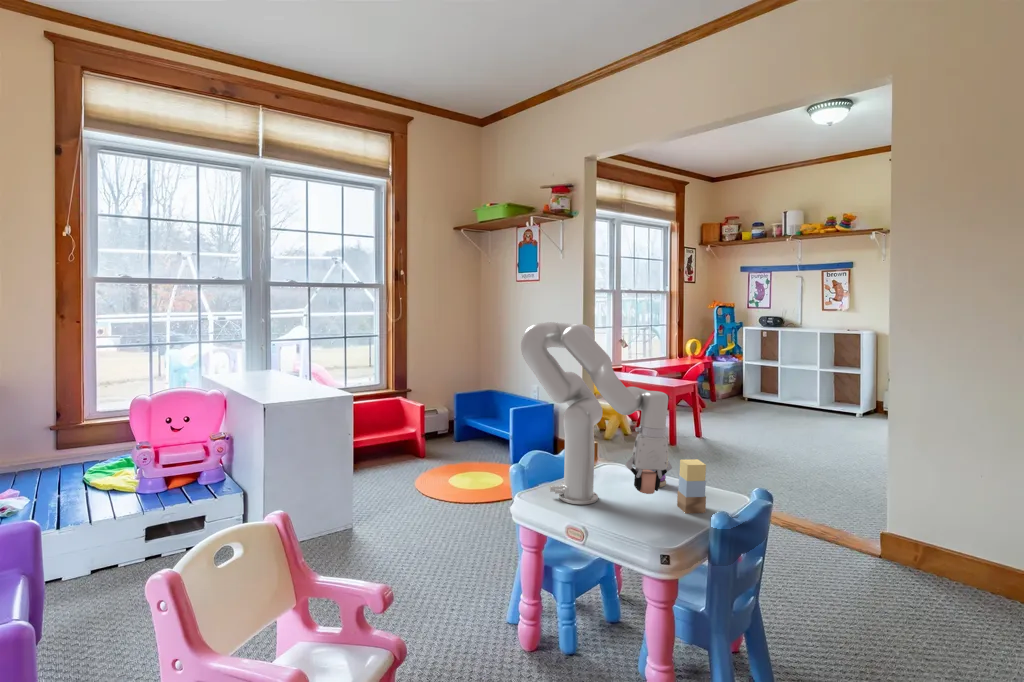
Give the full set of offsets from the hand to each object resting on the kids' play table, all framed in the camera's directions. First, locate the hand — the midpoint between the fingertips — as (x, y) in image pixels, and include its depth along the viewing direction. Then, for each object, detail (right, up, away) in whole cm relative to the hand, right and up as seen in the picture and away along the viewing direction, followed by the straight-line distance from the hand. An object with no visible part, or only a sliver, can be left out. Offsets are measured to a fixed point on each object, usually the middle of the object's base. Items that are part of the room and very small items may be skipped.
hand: (646, 488), depth 181 cm
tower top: (+14, +3, +1) cm, 15 cm away
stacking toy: (+8, -5, +25) cm, 27 cm away
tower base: (+14, -7, +1) cm, 16 cm away
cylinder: (0, -1, 0) cm, 1 cm away
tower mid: (+14, -2, +1) cm, 14 cm away
